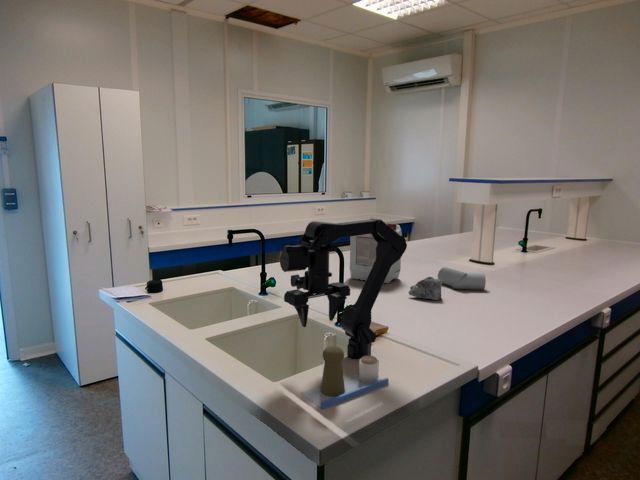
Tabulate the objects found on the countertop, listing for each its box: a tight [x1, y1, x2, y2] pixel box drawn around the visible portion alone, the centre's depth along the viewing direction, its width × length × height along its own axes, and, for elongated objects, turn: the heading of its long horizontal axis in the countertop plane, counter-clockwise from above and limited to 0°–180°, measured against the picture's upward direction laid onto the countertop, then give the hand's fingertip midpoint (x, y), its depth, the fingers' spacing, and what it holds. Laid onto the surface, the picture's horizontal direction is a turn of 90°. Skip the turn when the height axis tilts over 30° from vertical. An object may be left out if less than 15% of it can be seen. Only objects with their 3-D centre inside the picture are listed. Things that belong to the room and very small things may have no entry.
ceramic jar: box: [358, 355, 380, 384], centre depth 113 cm, size 5×5×6 cm
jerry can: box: [349, 222, 403, 284], centre depth 227 cm, size 24×19×30 cm
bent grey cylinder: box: [437, 266, 487, 291], centre depth 214 cm, size 18×11×20 cm
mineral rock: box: [408, 276, 442, 301], centre depth 193 cm, size 13×11×10 cm
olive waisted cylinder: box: [320, 345, 345, 397], centre depth 106 cm, size 6×6×11 cm
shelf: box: [301, 372, 390, 410], centre depth 108 cm, size 21×9×2 cm, turn 127°
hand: (317, 323), depth 120 cm, fingers open, 9 cm apart
